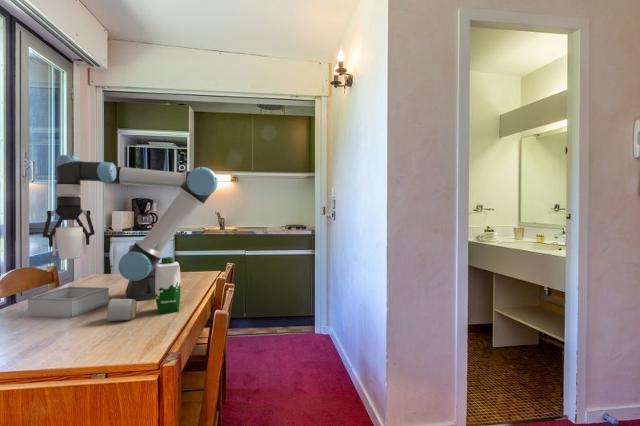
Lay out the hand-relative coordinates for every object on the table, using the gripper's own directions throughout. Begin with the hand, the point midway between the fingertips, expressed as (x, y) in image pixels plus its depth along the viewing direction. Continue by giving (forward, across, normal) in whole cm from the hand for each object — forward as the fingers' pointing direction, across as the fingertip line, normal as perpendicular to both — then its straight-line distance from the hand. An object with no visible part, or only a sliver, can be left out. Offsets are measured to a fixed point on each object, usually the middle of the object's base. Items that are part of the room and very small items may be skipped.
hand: (69, 254), depth 135 cm
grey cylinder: (+22, -14, +25) cm, 36 cm away
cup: (+2, 0, 0) cm, 2 cm away
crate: (+21, 0, 0) cm, 21 cm away
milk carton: (+22, -30, +24) cm, 44 cm away
